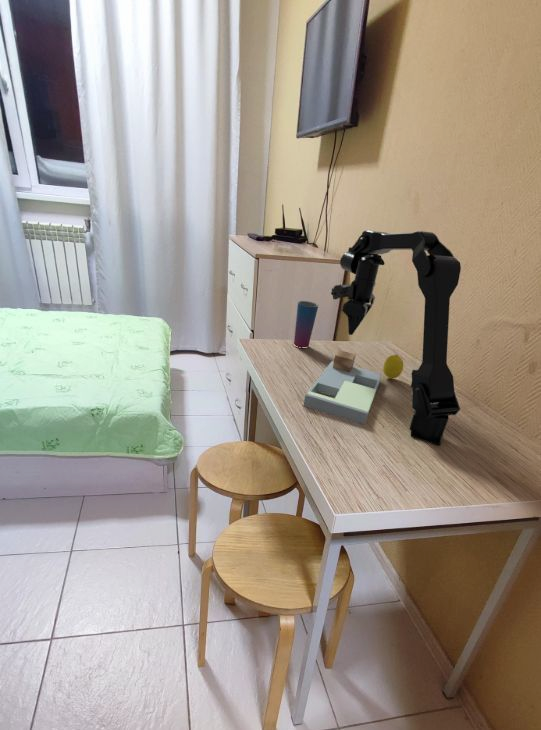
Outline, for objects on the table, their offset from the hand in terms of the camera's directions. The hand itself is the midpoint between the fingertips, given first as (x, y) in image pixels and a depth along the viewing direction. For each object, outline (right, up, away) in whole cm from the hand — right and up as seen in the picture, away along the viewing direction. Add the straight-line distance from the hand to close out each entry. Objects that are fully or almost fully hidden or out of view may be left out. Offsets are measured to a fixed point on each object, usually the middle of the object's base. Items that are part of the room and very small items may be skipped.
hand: (353, 330), depth 112 cm
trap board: (-4, -17, -10) cm, 21 cm away
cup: (-14, -4, +18) cm, 23 cm away
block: (-3, -11, -1) cm, 11 cm away
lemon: (+11, -15, +1) cm, 18 cm away
